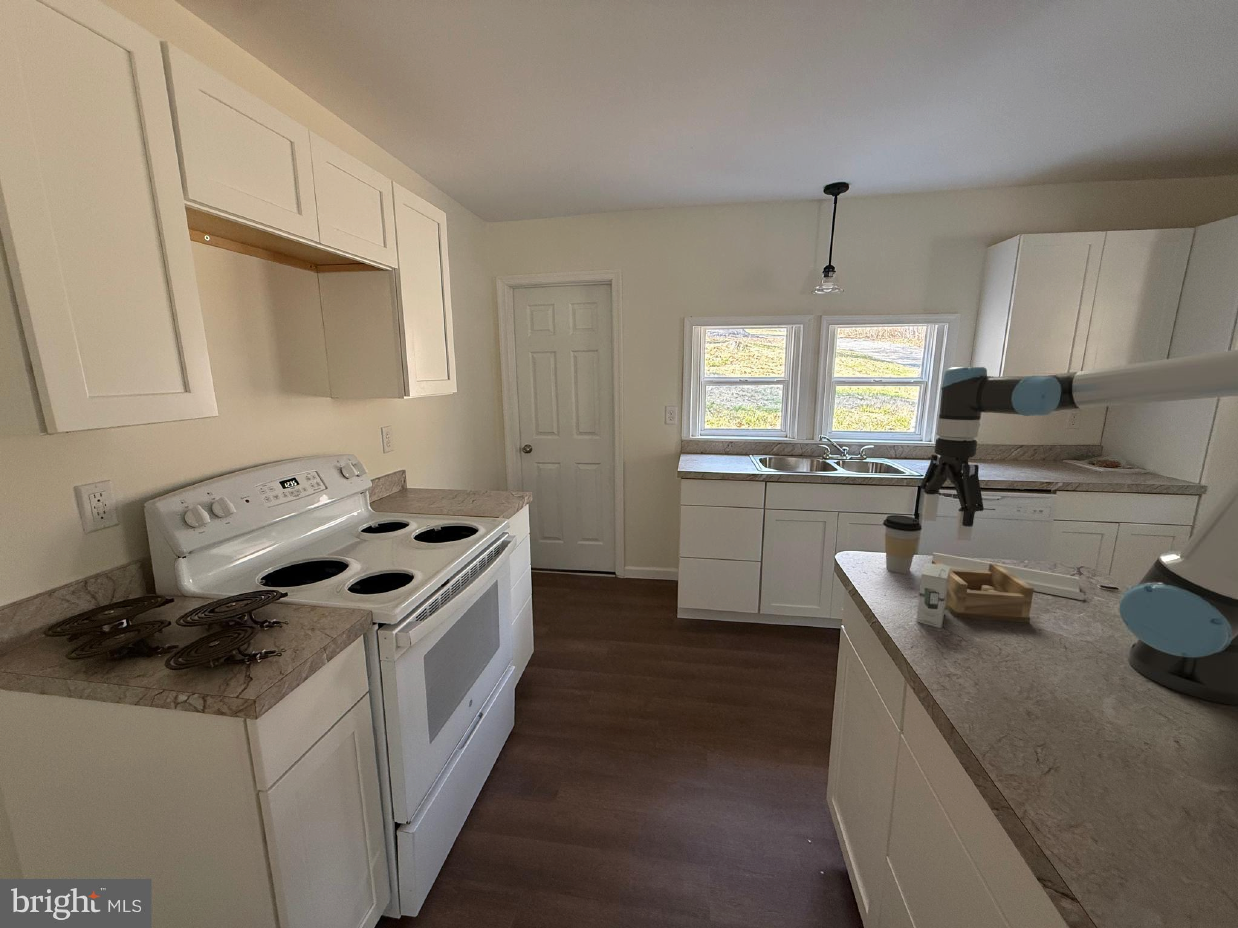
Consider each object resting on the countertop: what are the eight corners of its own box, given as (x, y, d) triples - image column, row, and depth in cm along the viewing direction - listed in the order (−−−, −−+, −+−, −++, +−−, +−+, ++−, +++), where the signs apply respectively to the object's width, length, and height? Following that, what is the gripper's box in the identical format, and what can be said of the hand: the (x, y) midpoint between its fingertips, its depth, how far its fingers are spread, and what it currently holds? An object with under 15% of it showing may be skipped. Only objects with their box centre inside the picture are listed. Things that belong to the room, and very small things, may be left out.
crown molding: (930, 573, 132) (931, 561, 132) (932, 560, 142) (933, 549, 141) (1083, 603, 114) (1085, 589, 114) (1073, 585, 124) (1075, 572, 123)
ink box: (920, 607, 112) (925, 560, 110) (945, 613, 109) (951, 565, 107) (915, 621, 106) (920, 572, 104) (941, 628, 103) (948, 578, 101)
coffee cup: (922, 577, 129) (928, 525, 126) (885, 574, 130) (890, 523, 128) (909, 563, 138) (914, 514, 135) (874, 561, 140) (878, 513, 137)
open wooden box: (1029, 622, 105) (1035, 588, 103) (954, 617, 108) (959, 583, 106) (992, 594, 118) (997, 563, 117) (927, 589, 121) (931, 560, 120)
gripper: (1014, 446, 91) (999, 549, 95) (943, 431, 115) (933, 513, 119) (973, 446, 92) (959, 548, 96) (910, 431, 116) (902, 513, 120)
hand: (944, 529), depth 108 cm, fingers open, 13 cm apart
